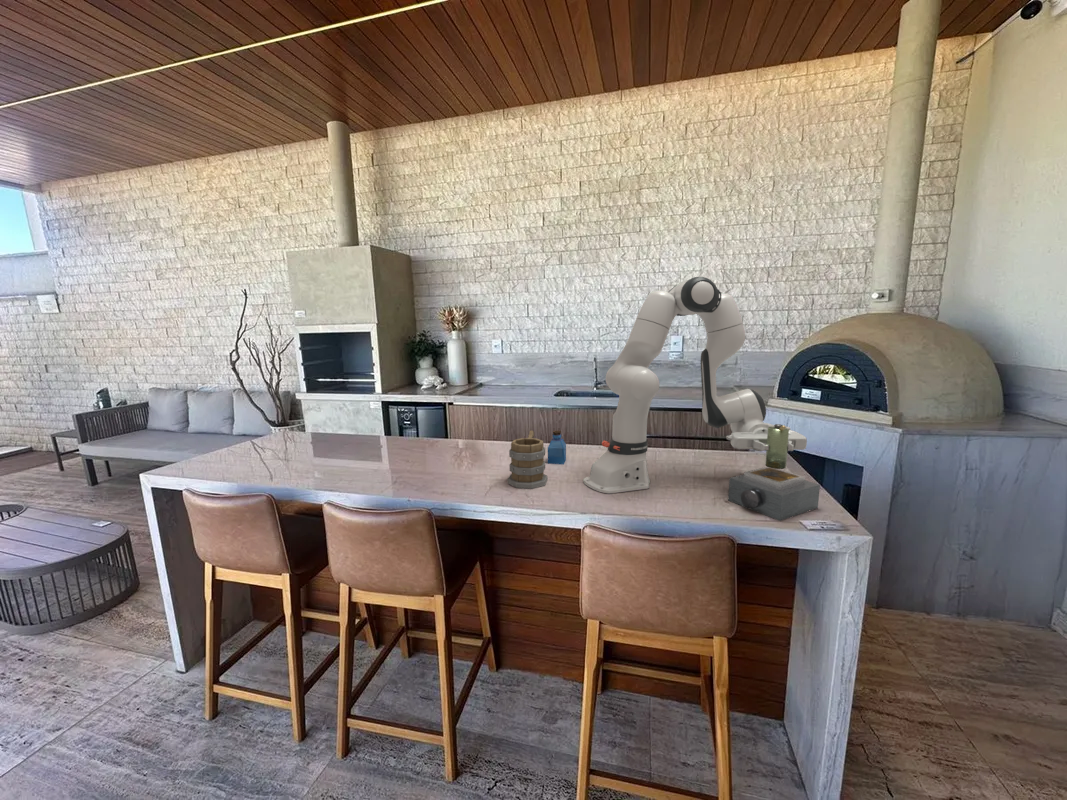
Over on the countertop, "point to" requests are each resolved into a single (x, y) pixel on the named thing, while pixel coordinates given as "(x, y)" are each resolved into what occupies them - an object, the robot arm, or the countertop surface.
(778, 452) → the spout can
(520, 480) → the tankard
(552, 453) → the perfume bottle
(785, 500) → the gearbox housing
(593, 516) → the countertop surface
